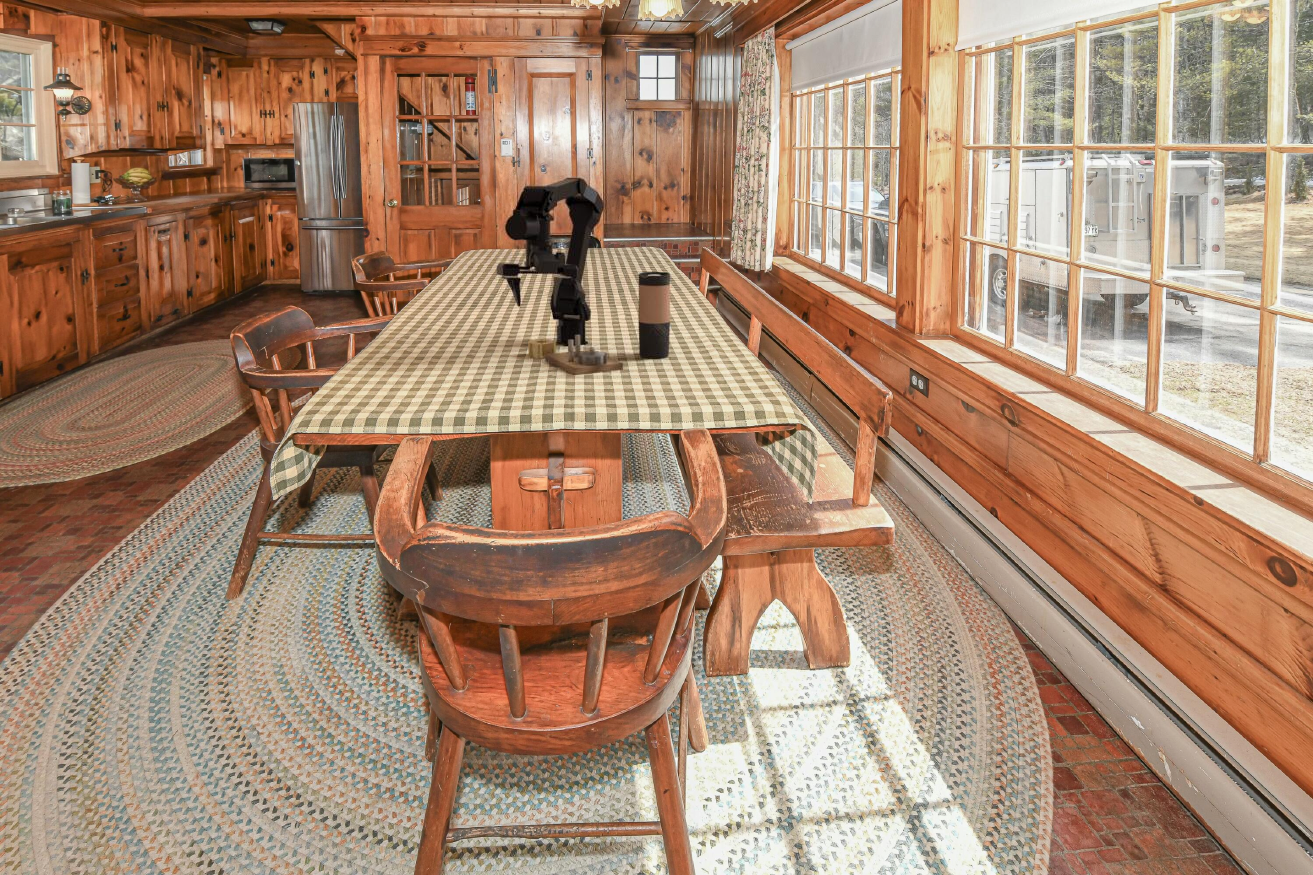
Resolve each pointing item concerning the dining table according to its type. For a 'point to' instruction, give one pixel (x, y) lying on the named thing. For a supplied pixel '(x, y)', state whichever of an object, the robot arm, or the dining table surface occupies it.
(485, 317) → the dining table surface
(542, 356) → the brass gear
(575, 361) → the gear board
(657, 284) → the travel mug
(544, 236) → the robot arm
